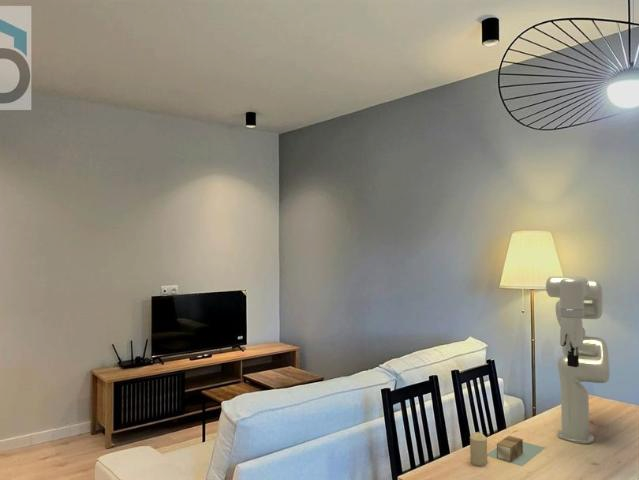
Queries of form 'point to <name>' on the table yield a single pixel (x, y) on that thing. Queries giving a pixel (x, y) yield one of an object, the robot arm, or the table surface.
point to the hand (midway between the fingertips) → (573, 366)
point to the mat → (527, 455)
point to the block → (509, 448)
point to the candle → (478, 449)
